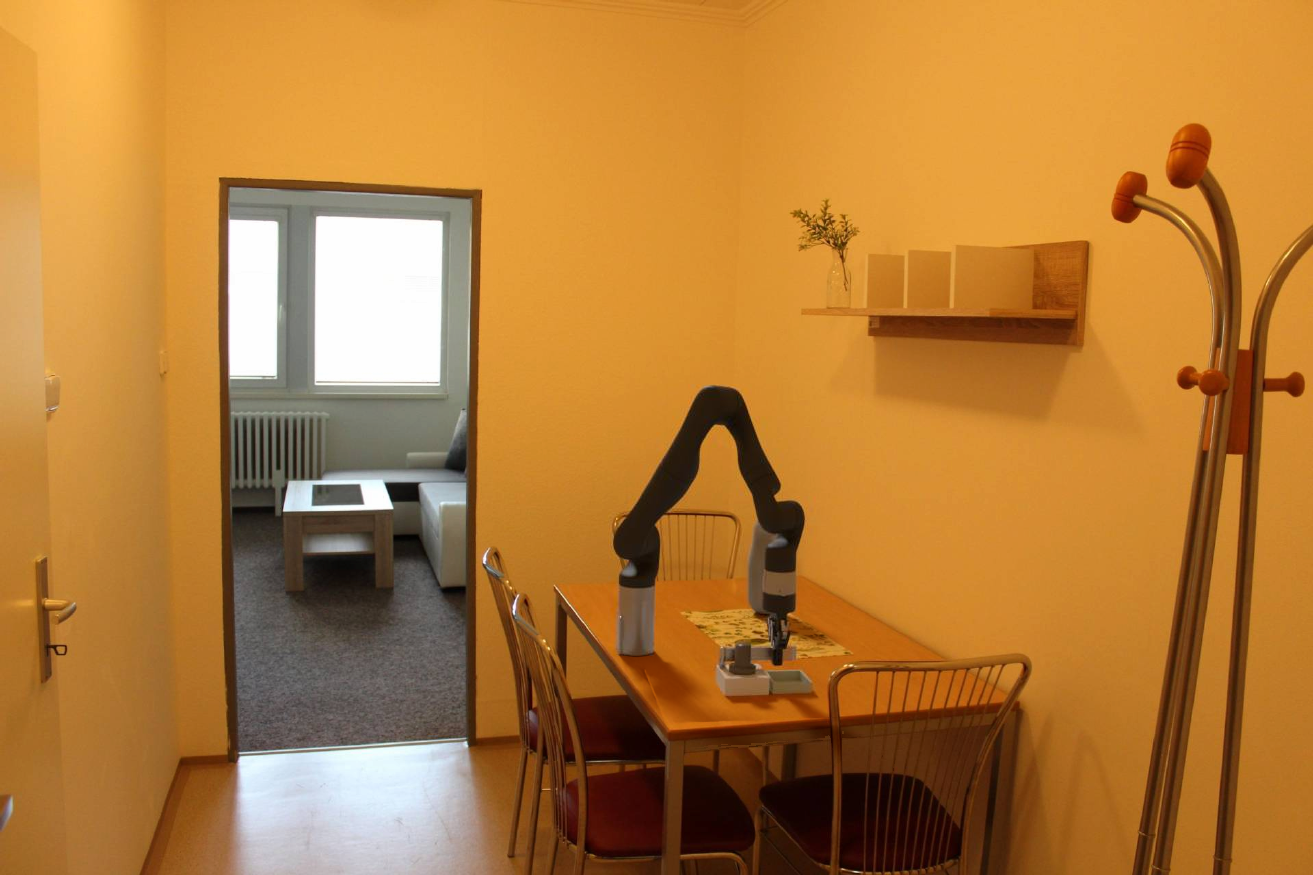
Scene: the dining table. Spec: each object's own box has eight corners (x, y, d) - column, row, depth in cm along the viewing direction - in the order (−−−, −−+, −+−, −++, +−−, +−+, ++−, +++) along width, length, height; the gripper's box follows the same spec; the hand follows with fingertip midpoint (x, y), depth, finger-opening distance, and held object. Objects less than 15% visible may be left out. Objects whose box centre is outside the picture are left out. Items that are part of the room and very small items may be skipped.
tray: (772, 694, 237) (773, 683, 237) (763, 681, 246) (763, 670, 246) (812, 693, 238) (812, 682, 238) (801, 680, 247) (801, 669, 247)
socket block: (724, 696, 235) (725, 678, 235) (715, 681, 245) (716, 664, 244) (768, 695, 236) (769, 677, 236) (758, 680, 246) (758, 663, 246)
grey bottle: (787, 615, 309) (790, 520, 306) (756, 618, 305) (759, 521, 302) (771, 607, 318) (774, 514, 315) (740, 610, 314) (743, 516, 311)
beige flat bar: (719, 668, 241) (720, 648, 241) (718, 666, 243) (718, 646, 243) (796, 666, 244) (796, 646, 244) (794, 664, 246) (794, 644, 245)
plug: (731, 692, 237) (732, 649, 236) (726, 683, 243) (727, 641, 242) (757, 691, 238) (759, 648, 237) (751, 683, 244) (753, 640, 243)
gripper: (756, 582, 245) (753, 656, 247) (770, 596, 232) (767, 674, 234) (788, 582, 246) (785, 655, 248) (803, 596, 233) (800, 673, 235)
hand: (776, 664), depth 241 cm, fingers closed
